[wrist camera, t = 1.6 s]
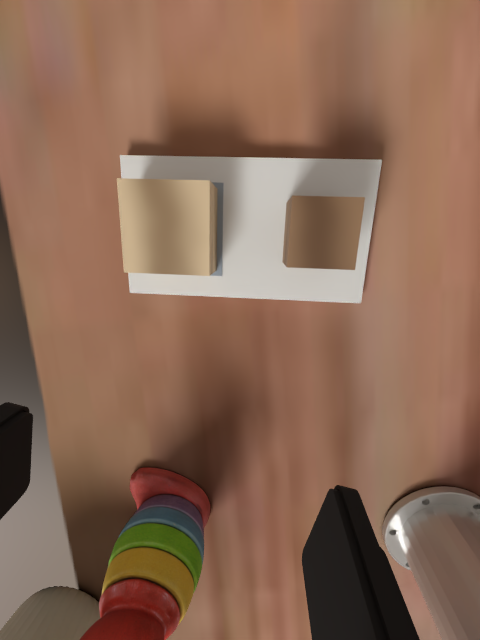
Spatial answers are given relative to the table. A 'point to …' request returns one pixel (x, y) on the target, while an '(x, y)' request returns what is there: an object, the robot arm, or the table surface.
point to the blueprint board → (262, 224)
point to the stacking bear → (154, 559)
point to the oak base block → (168, 226)
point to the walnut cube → (322, 232)
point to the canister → (52, 616)
